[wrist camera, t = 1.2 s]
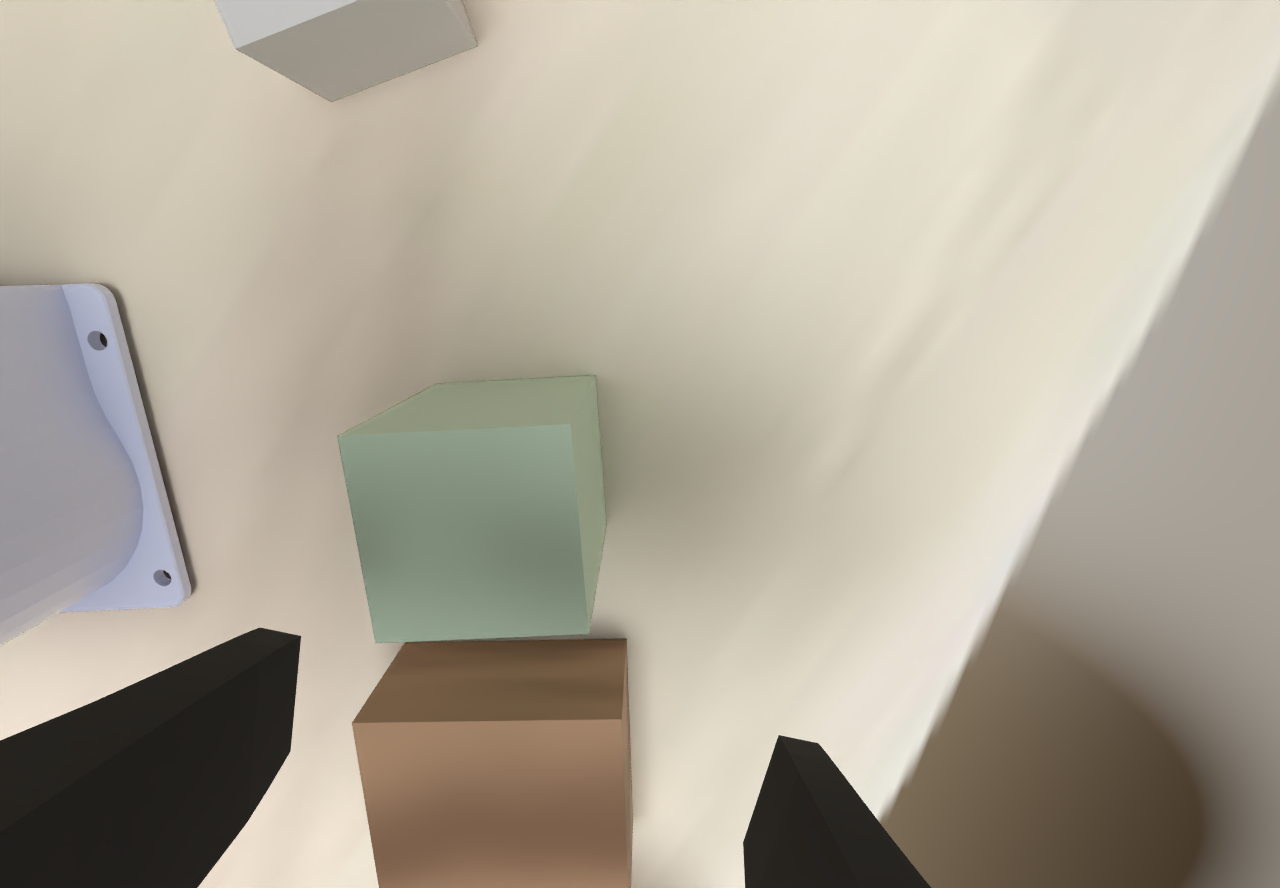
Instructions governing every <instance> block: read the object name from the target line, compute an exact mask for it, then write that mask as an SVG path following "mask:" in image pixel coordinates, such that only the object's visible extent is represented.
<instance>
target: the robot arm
mask: <svg viewBox="0 0 1280 888" xmlns="http://www.w3.org/2000/svg"><path fill="white" fill-rule="evenodd" d="M101 333H102V334H104V335H105V337H106V339H107V346H106V347H105V346H104V345H102V343H101V341H100V334H101ZM163 570H165V571H166V572H168V573H169V575H170V576H171V579H169V578H167V577H166V576H165V574H164V573H163ZM190 594H191V585H190V581H189V578H188V574H187V570H186V566H185V562H184V558H183V555H182V551H181V547H180V543H179V539H178V536H177V532H176V528H175V524H174V520H173V517H172V513H171V509H170V505H169V501H168V497H167V494H166V490H165V486H164V482H163V478H162V475H161V471H160V467H159V463H158V459H157V456H156V452H155V448H154V444H153V440H152V436H151V433H150V429H149V425H148V421H147V417H146V414H145V410H144V406H143V402H142V398H141V394H140V391H139V387H138V383H137V379H136V375H135V372H134V368H133V364H132V360H131V356H130V353H129V349H128V345H127V341H126V337H125V333H124V330H123V326H122V322H121V318H120V314H119V311H118V307H117V303H116V300H115V298H114V296H113V294H112V293H111V292H110V290H109V289H108V288H106V287H104V286H103V285H101V284H96V283H79V284H62V285H18V286H0V646H1V645H3V644H5V643H6V642H8V641H10V640H12V639H13V638H15V637H17V636H19V635H20V634H22V633H24V632H26V631H27V630H29V629H31V628H32V627H34V626H36V625H38V624H39V623H41V622H43V621H45V620H46V619H48V618H50V617H51V616H53V615H55V614H57V613H60V612H81V611H103V610H125V609H147V608H168V607H175V606H178V605H180V604H181V603H182V602H184V601H185V600H187V599H188V598H189V596H190ZM300 641H301V636H298V635H293V634H288V633H283V632H279V631H274V630H269V629H264V628H257V629H255V630H252V631H250V632H248V633H245V634H243V635H240V636H238V637H236V638H233V639H231V640H229V641H227V642H225V643H222V644H220V645H218V646H216V647H213V648H211V649H209V650H207V651H205V652H203V653H200V654H198V655H196V656H194V657H192V658H190V659H187V660H185V661H183V662H181V663H179V664H177V665H174V666H172V667H170V668H168V669H166V670H163V671H161V672H159V673H157V674H155V675H152V676H150V677H148V678H146V679H144V680H141V681H139V682H137V683H135V684H132V685H130V686H128V687H126V688H124V689H121V690H119V691H117V692H115V693H113V694H110V695H108V696H106V697H104V698H101V699H99V700H97V701H95V702H92V703H90V704H88V705H85V706H83V707H80V708H78V709H76V710H73V711H71V712H68V713H66V714H64V715H61V716H59V717H56V718H54V719H51V720H49V721H47V722H44V723H42V724H39V725H37V726H35V727H32V728H30V729H27V730H25V731H23V732H20V733H18V734H15V735H13V736H10V737H8V738H6V739H3V740H1V741H0V888H197V887H198V886H199V885H200V884H201V882H202V881H203V880H204V878H205V877H206V876H207V874H208V873H209V872H210V870H211V869H212V868H213V867H214V865H215V864H216V863H217V861H218V860H219V859H220V857H221V856H222V855H223V853H224V852H225V851H226V850H227V848H228V847H229V846H230V844H231V843H232V842H233V840H234V839H235V838H236V836H237V835H238V834H239V832H240V831H241V830H242V828H243V827H244V826H245V824H246V823H247V822H248V820H249V819H250V817H251V815H252V814H253V812H254V811H255V809H256V807H257V806H258V804H259V803H260V801H261V799H262V798H263V796H264V795H265V793H266V791H267V790H268V788H269V787H270V785H271V783H272V781H273V780H274V778H275V776H276V775H277V773H278V771H279V770H280V768H281V766H282V765H283V763H284V761H285V760H286V758H287V756H288V754H289V753H290V750H291V739H292V728H293V717H294V706H295V695H296V685H297V674H298V663H299V652H300ZM743 847H744V869H745V888H931V887H930V886H929V885H928V883H927V882H926V881H925V880H924V879H923V877H922V876H921V875H920V874H919V872H918V871H917V870H916V869H915V867H914V866H913V865H912V864H911V862H910V861H909V860H908V859H907V857H906V856H905V855H904V854H903V852H902V851H901V850H900V848H899V847H898V846H897V845H896V843H895V842H894V841H893V840H892V838H891V837H890V836H889V835H888V833H887V832H886V831H885V829H884V828H883V827H882V825H881V824H880V823H879V821H878V820H877V819H876V818H875V816H874V815H873V814H872V812H871V811H870V810H869V808H868V807H867V806H866V804H865V803H864V802H863V800H862V799H861V798H860V797H859V795H858V794H857V793H856V791H855V790H854V789H853V787H852V786H851V785H850V783H849V782H848V781H847V779H846V778H845V777H844V775H843V774H842V773H841V771H840V770H839V769H838V768H837V766H836V765H835V764H834V762H833V761H832V760H831V759H830V757H829V756H828V755H827V753H826V752H825V751H824V750H823V749H822V747H821V746H820V745H819V744H818V743H814V742H809V741H804V740H799V739H795V738H790V737H785V736H780V735H779V736H778V739H777V742H776V745H775V748H774V751H773V754H772V757H771V760H770V763H769V766H768V769H767V772H766V775H765V778H764V781H763V784H762V787H761V790H760V793H759V797H758V800H757V803H756V806H755V809H754V812H753V815H752V818H751V821H750V824H749V827H748V830H747V833H746V836H745V839H744V842H743Z"/></svg>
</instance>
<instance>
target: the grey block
mask: <svg viewBox="0 0 1280 888" xmlns="http://www.w3.org/2000/svg"><path fill="white" fill-rule="evenodd" d="M214 1H215V3H216V5H217V8H218V10H219V12H220V15H221V17H222V19H223V21H224V24H225V26H226V28H227V31H228V33H229V35H230V38H231V40H232V42H233V44H234V47H235V49H236V50H238V51H240V52H242V53H244V54H246V55H247V56H249V57H251V58H253V59H255V60H256V61H258V62H260V63H262V64H264V65H265V66H267V67H269V68H271V69H273V70H274V71H276V72H278V73H280V74H282V75H284V76H285V77H287V78H289V79H291V80H293V81H294V82H296V83H298V84H300V85H302V86H303V87H305V88H307V89H309V90H311V91H312V92H314V93H316V94H318V95H320V96H322V97H323V98H325V99H327V100H329V101H331V102H333V101H336V100H338V99H341V98H344V97H346V96H349V95H351V94H354V93H357V92H359V91H362V90H364V89H367V88H370V87H372V86H375V85H378V84H380V83H383V82H385V81H388V80H391V79H393V78H396V77H398V76H401V75H404V74H406V73H409V72H411V71H414V70H417V69H419V68H422V67H424V66H427V65H430V64H432V63H435V62H437V61H440V60H443V59H445V58H448V57H450V56H453V55H456V54H458V53H461V52H464V51H466V50H469V49H471V48H474V47H477V46H478V44H477V41H476V39H475V36H474V33H473V30H472V27H471V24H470V21H469V19H468V16H467V13H466V10H465V7H464V4H463V1H462V0H214Z"/></svg>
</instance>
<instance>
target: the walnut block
mask: <svg viewBox="0 0 1280 888" xmlns="http://www.w3.org/2000/svg"><path fill="white" fill-rule="evenodd" d="M352 726H353V732H354V738H355V744H356V750H357V756H358V762H359V769H360V775H361V781H362V787H363V793H364V799H365V805H366V811H367V817H368V823H369V829H370V835H371V841H372V847H373V854H374V860H375V866H376V872H377V878H378V884H379V888H631V869H632V833H633V810H632V781H631V753H630V724H629V695H628V667H627V639H584V640H524V641H464V642H405V643H404V645H403V646H402V648H401V650H400V651H399V653H398V654H397V656H396V657H395V659H394V660H393V662H392V663H391V665H390V666H389V668H388V669H387V671H386V672H385V674H384V675H383V677H382V678H381V680H380V681H379V683H378V684H377V686H376V687H375V689H374V690H373V692H372V693H371V695H370V696H369V698H368V699H367V701H366V703H365V704H364V706H363V707H362V709H361V710H360V712H359V713H358V715H357V716H356V718H355V719H354V721H353V722H352Z"/></svg>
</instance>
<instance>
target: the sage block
mask: <svg viewBox="0 0 1280 888" xmlns="http://www.w3.org/2000/svg"><path fill="white" fill-rule="evenodd" d="M337 437H338V442H339V448H340V453H341V458H342V464H343V469H344V475H345V480H346V486H347V491H348V496H349V502H350V507H351V513H352V518H353V524H354V529H355V534H356V540H357V545H358V551H359V556H360V562H361V567H362V572H363V578H364V583H365V589H366V594H367V599H368V605H369V610H370V616H371V621H372V627H373V632H374V637H375V643H392V642H415V641H439V640H462V639H485V638H509V637H532V636H555V635H578V634H589V630H590V624H591V618H592V612H593V606H594V600H595V593H596V587H597V581H598V575H599V569H600V563H601V557H602V550H603V544H604V538H605V532H606V526H607V522H606V508H605V495H604V481H603V468H602V454H601V441H600V427H599V414H598V400H597V387H596V375H587V376H568V377H550V378H531V379H512V380H494V381H475V382H457V383H438V384H435V385H433V386H431V387H429V388H427V389H425V390H424V391H422V392H420V393H418V394H416V395H414V396H412V397H410V398H408V399H407V400H405V401H403V402H401V403H399V404H397V405H395V406H393V407H391V408H390V409H388V410H386V411H384V412H382V413H380V414H378V415H376V416H374V417H373V418H371V419H369V420H367V421H365V422H363V423H361V424H359V425H357V426H355V427H354V428H352V429H350V430H348V431H346V432H344V433H342V434H340V435H338V436H337Z"/></svg>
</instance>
